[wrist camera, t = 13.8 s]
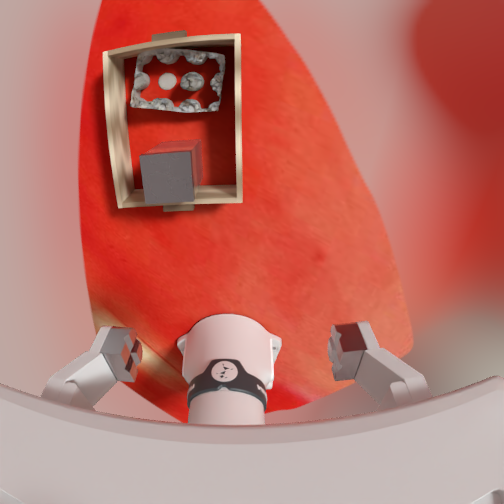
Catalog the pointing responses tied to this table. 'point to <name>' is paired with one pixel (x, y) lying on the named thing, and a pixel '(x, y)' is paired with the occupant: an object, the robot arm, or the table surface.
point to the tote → (119, 126)
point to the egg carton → (168, 80)
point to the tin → (172, 171)
